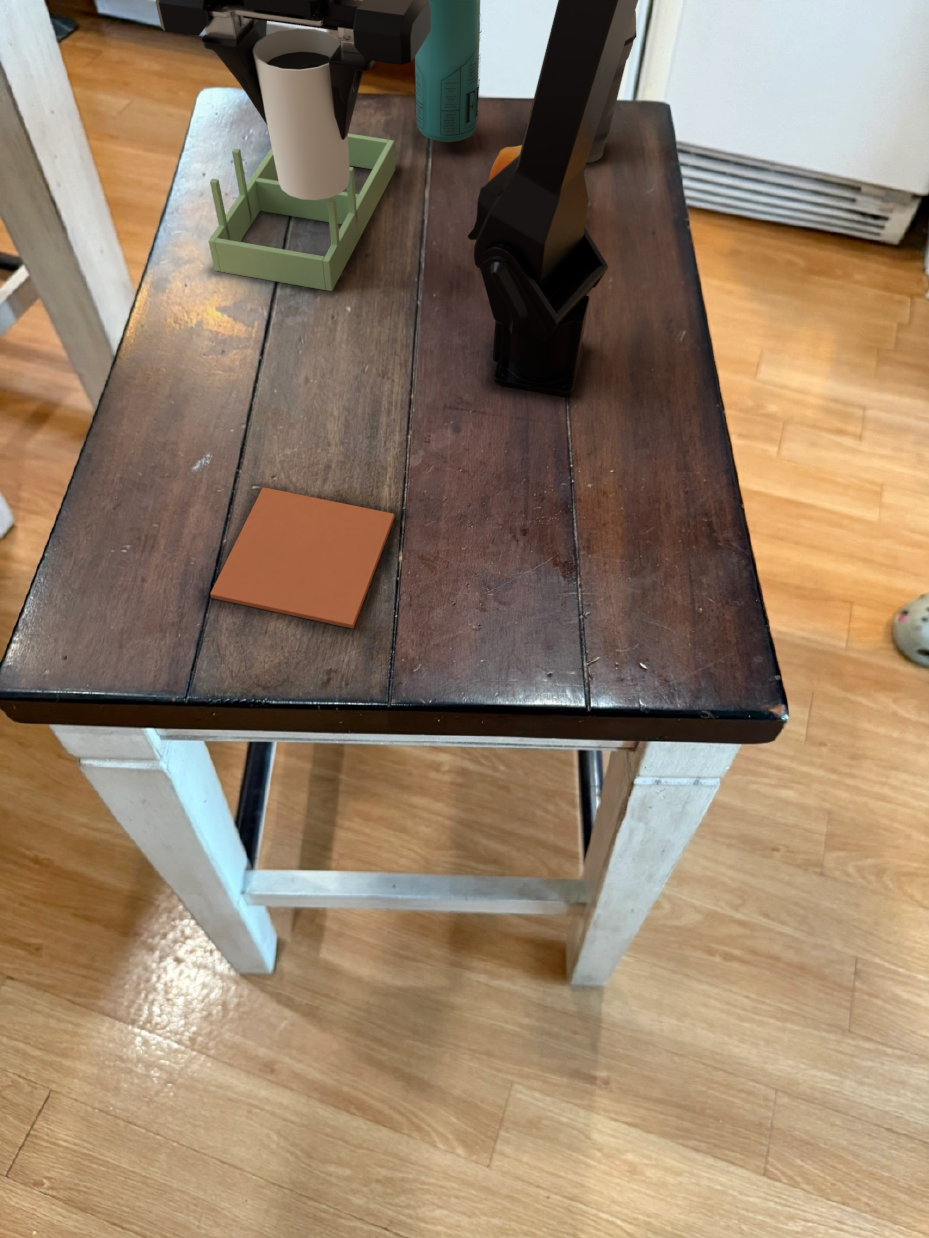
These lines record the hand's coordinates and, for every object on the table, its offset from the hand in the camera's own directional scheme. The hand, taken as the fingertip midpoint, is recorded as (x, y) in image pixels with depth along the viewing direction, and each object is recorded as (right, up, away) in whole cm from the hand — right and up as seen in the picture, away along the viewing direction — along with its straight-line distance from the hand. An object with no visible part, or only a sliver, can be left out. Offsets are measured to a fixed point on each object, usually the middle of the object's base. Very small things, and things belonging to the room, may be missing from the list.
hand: (308, 131), depth 72 cm
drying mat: (+1, -34, -8) cm, 35 cm away
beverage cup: (+24, +10, +23) cm, 35 cm away
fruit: (+18, 0, +16) cm, 24 cm away
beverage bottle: (+10, +11, +24) cm, 28 cm away
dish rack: (-2, 0, +15) cm, 15 cm away
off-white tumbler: (0, -2, +3) cm, 4 cm away
